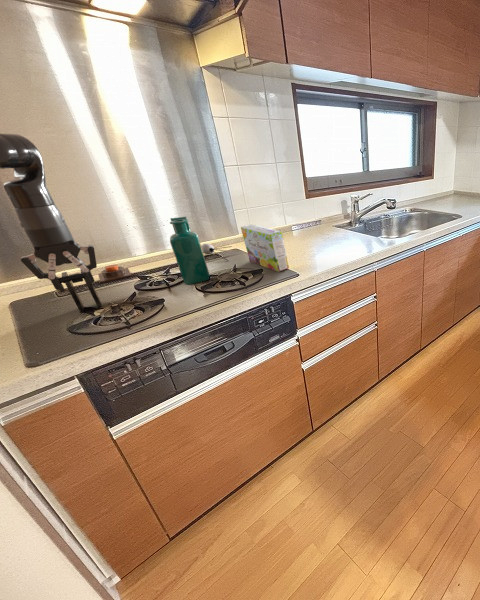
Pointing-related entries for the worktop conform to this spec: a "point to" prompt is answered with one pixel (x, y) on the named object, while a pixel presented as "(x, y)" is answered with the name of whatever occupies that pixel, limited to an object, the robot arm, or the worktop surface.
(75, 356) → the worktop surface
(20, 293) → the worktop surface
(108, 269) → the button
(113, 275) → the button box
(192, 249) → the green bottle
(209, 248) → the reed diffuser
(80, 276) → the lever
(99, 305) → the bracket
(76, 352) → the worktop surface
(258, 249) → the snack box
